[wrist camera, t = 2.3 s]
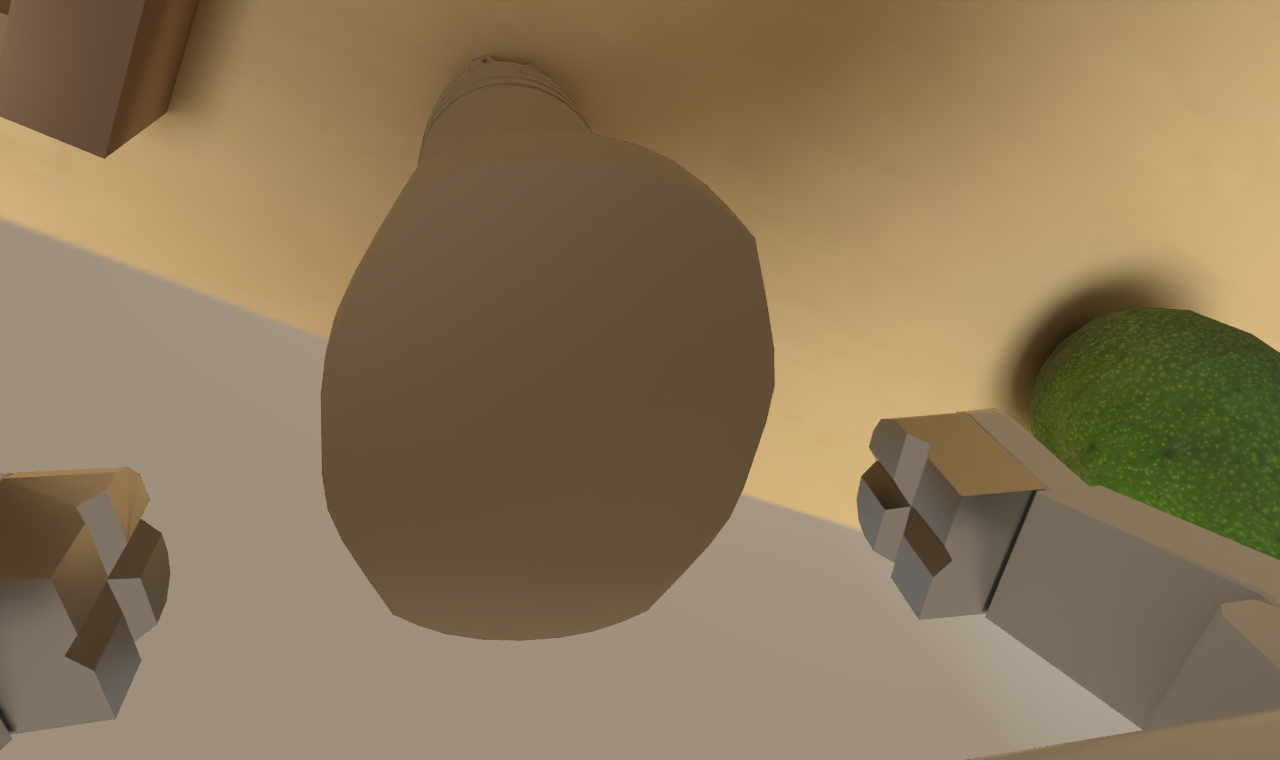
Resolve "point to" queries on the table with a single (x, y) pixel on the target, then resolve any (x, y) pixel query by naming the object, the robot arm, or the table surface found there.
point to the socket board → (90, 66)
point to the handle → (541, 372)
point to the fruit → (1170, 418)
